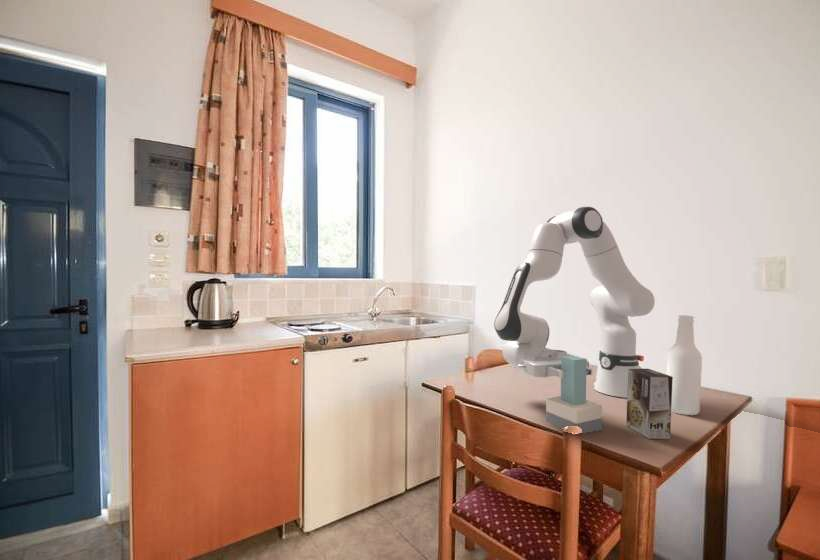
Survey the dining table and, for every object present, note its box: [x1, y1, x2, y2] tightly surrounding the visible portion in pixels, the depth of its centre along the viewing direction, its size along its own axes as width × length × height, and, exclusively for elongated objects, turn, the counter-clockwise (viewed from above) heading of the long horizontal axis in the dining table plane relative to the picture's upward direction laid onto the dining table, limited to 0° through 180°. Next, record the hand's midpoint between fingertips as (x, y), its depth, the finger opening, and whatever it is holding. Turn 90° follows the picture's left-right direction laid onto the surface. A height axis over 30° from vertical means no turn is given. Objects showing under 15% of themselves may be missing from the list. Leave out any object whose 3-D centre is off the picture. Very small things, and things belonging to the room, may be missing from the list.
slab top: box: [545, 395, 603, 424], centre depth 105 cm, size 10×10×4 cm
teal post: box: [560, 355, 588, 405], centre depth 105 cm, size 4×4×12 cm
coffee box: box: [625, 368, 673, 440], centre depth 102 cm, size 9×6×16 cm
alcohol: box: [666, 314, 703, 417], centre depth 120 cm, size 9×9×30 cm
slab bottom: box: [545, 410, 603, 435], centre depth 105 cm, size 10×10×4 cm
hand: (577, 373), depth 104 cm, fingers open, 8 cm apart
